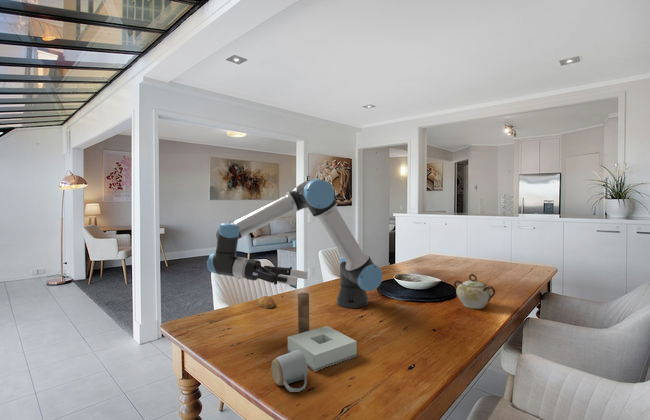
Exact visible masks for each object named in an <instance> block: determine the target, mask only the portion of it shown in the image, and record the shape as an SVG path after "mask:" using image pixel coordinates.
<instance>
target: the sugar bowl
mask: <svg viewBox="0 0 650 420" xmlns="http://www.w3.org/2000/svg"><path fill="white" fill-rule="evenodd" d="M472 277H473V278H474V279H473V278H472ZM468 278H469V280H466V281H461V280H458V279H457V280H455V281H454V283H453V287H454V289H455V291H456V296H457V297H458V299H459V300H460V302H461V303H462V305H463V306H464V307H466V308H468V309H475V310H476V309H477V310H479V309H484V308H485V307H486V305H487V304H488V303H489V302H490V301H491V299H492V298H494V296H495V294H496V289H495V288H494V286H491V285H490V286H488V285H487V284H486V283H483V282H482V281H478V277H477V276H476V275H475V274H474V273H470V274H469V277H468Z"/></svg>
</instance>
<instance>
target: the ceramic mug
mask: <svg viewBox="0 0 650 420" xmlns="http://www.w3.org/2000/svg"><path fill="white" fill-rule="evenodd" d="M270 369H271V375H272V378H273V381H274V382H275V384H277V386H279V387H280V386H282V387H283V386H284V387H285V388H286V390H287V391H289V393H292V392H299V391H302V390H303V389H304V390H305V389H306V387H307V383H308V381H307V379H308V373H309V371H308V370H309V369H308V367H307V363H306V359H305V357H304V355H303V353H302V352H301V351H300V350H295V351H292V352H290V353H289V352H287V353H285V354H283V355H279V356H277V357H275V358H274V359H272V361H271V367H270ZM303 380H304V384H303V386H302V387H299V388H295V387H292V386H290V384H292V383H293V384H294V383H296V382H299V381H303ZM304 390H303V391H304ZM303 391H302V392H303ZM299 393H300V392H299Z"/></svg>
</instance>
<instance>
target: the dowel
mask: <svg viewBox="0 0 650 420" xmlns="http://www.w3.org/2000/svg"><path fill="white" fill-rule="evenodd" d="M297 323H298V324H297V332H298V333H297V334H300V333H303V332H307V331H310V293H308V292H300V293H298V294H297Z"/></svg>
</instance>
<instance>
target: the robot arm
mask: <svg viewBox="0 0 650 420" xmlns="http://www.w3.org/2000/svg"><path fill="white" fill-rule="evenodd" d="M337 205H338V201H337V200H336V197H335V190H334V187H333V186H332V184H331V183H330V182H329V181H327V180H324V179H320V178H314V179H311V180H306V181H304V182H301V183H300V184H299V185H297V186H296V187H294V188H293V189H291V190H288V191H287V192H285V195H284V196H282V197H280V198H278V199H276V200H274V201H272V202H269V203H267V204H266V205H264V206H262V207H260V208H258V209H256V210H254V211H252V212H250V213H247V214H246V215H244V216H241V217H240V218H238V219H236V220H234V221H232V222H230V223H228V222H227V223H226V222H223V223H222V222H221V223H220V224H219V227H218V229H217V231H216V233H215V235H216V236H215V237H216V240H217V241H216V247H215V252H213V253H211V254H209V256H208V258H207V260H206V267H207V270H208V272H210V273H213V274H216V275H219V276H220V275H221V276H229V277H234V278H237V279H238V280H241V279H245V280H250V281H256V280H258V279H259V280H261V281H265V282H268V283H271V284H273V285H276V286H277V285H278V283H280V284H285V285H290V286H298V278H299V279H303V280H307V279H308V271H304V270H298V269H293V266H290V267H282V266H281V267H280V266H272V265H264V266H262V262H261V260H259V259H253V258H251V259H250V258H247V257H242V256H241V257H240V256H237V250H238V242H239V240H240V239H242V238H243V237H244V236H247V235H249V234H251V233H253V232H255V231H257V230H259V229H260V228H263V227H265V226H266V225H268V224H270V223H273V222H274V221H277V220H279V219H280V218H282V217H284V216H286V215H288V214H290V213H292V212H296V213H297V212H299V211H301V210H304V209H307V208H308V209H309V212H310V213H311V214H312V216H313V218H317V219H319V220H320V221H319V222H321V224H322V225H323V227H324V229H325V230H326V232H327V234H328V235H329V237H330V239H331V240H332V242H333V244H334V245H335V247H336V248H337V250H338V252H339V253H340V255H341V257H340V258H339V260H340V261H339V272H340V273H339V274H340V275H339V277H340V278H339V281H340V283H339V286H340V288H339V290H338V291H339V292H338V294H337V297H336V304H337V305H338V306H339V307H342V308H347V309H359V308H364V307H367V306H368V305H369V297H368V294H367V292H373V291H375V290H376V289H378V287H379V286H380V285H381V283H382V281H383V279H384V278H383V277H384V276H383V275H384V274H383V271H382V269H381V268H380V267H379V265H377V264H375V263H374V262H373V260H372V258H371V256H370V255H369V253H364V252H363V250H362V248H361V247H360V245H359V243H358V241H357V240H356V238H355V237H354V235H353V234H352V232H351V230H350V228H349V227H348V224H347V223H346V221H345V220H344V218H343V217H342V215H341V213H340V211H339V210H338V208H337Z"/></svg>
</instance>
